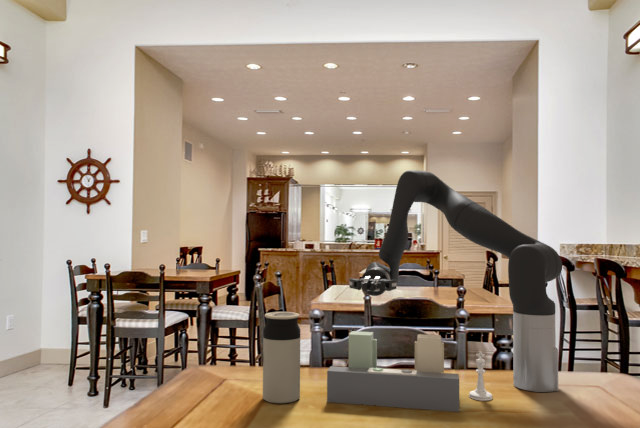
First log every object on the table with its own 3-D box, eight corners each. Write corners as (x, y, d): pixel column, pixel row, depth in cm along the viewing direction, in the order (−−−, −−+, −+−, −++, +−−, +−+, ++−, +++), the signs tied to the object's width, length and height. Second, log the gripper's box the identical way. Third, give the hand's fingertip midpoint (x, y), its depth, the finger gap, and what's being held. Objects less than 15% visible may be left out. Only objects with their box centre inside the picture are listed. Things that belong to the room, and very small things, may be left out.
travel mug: (306, 396, 116) (306, 313, 117) (288, 406, 109) (289, 318, 109) (274, 391, 119) (275, 310, 120) (255, 401, 112) (256, 315, 113)
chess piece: (493, 401, 113) (493, 354, 113) (469, 399, 114) (469, 352, 114) (491, 394, 118) (490, 349, 118) (468, 393, 119) (468, 348, 119)
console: (456, 394, 118) (456, 362, 118) (459, 411, 106) (459, 376, 107) (337, 385, 124) (337, 355, 124) (327, 401, 112) (327, 368, 112)
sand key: (443, 383, 119) (443, 334, 119) (444, 390, 114) (444, 338, 114) (414, 382, 120) (414, 333, 121) (413, 388, 115) (414, 337, 116)
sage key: (376, 379, 122) (376, 331, 122) (374, 385, 117) (374, 335, 117) (349, 377, 123) (349, 330, 124) (345, 384, 118) (345, 334, 119)
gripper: (352, 267, 152) (342, 271, 135) (400, 268, 150) (395, 272, 133) (352, 293, 152) (342, 301, 135) (400, 295, 149) (395, 303, 132)
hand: (368, 287), depth 134 cm, fingers closed
